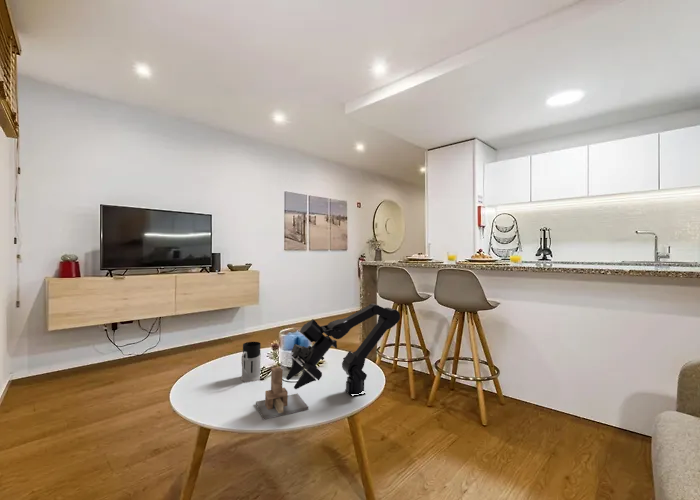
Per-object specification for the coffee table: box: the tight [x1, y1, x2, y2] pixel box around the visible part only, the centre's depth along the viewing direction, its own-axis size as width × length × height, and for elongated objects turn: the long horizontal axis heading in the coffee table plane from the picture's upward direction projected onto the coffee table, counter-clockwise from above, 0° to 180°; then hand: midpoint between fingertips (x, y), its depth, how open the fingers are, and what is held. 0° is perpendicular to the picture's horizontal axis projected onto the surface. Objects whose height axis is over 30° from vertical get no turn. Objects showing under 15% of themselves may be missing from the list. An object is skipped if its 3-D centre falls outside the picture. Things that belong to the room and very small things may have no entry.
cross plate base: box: [255, 393, 309, 420], centre depth 119 cm, size 16×12×4 cm
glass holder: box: [240, 341, 262, 383], centre depth 143 cm, size 9×14×15 cm, turn 174°
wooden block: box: [264, 366, 289, 410], centre depth 118 cm, size 7×4×13 cm, turn 118°
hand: (290, 383), depth 120 cm, fingers open, 9 cm apart
